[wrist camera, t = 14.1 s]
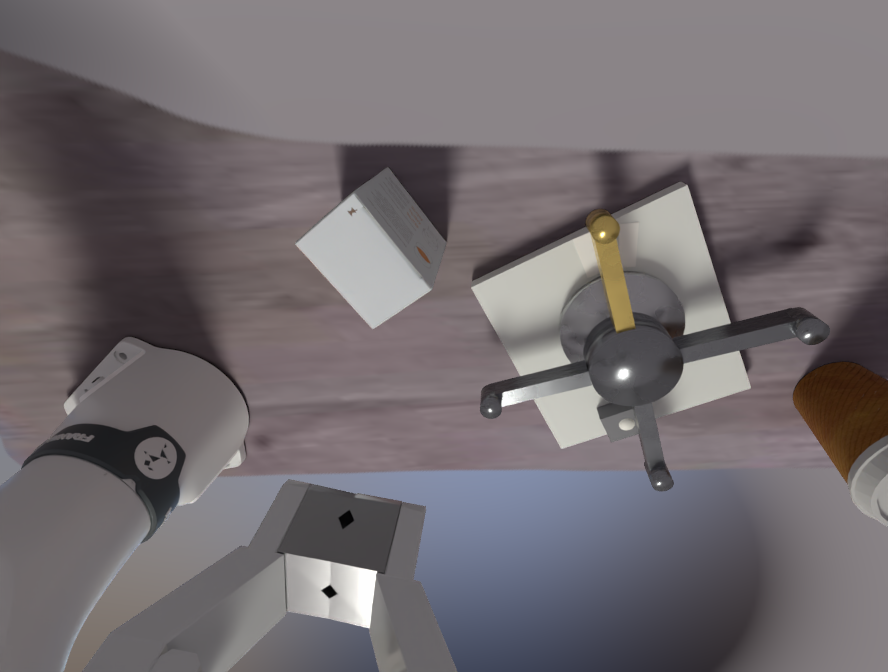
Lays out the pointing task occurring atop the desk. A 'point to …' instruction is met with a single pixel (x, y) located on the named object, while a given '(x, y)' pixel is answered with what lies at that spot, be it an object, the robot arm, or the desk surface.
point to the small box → (376, 249)
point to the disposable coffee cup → (851, 428)
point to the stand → (574, 264)
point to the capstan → (637, 343)
